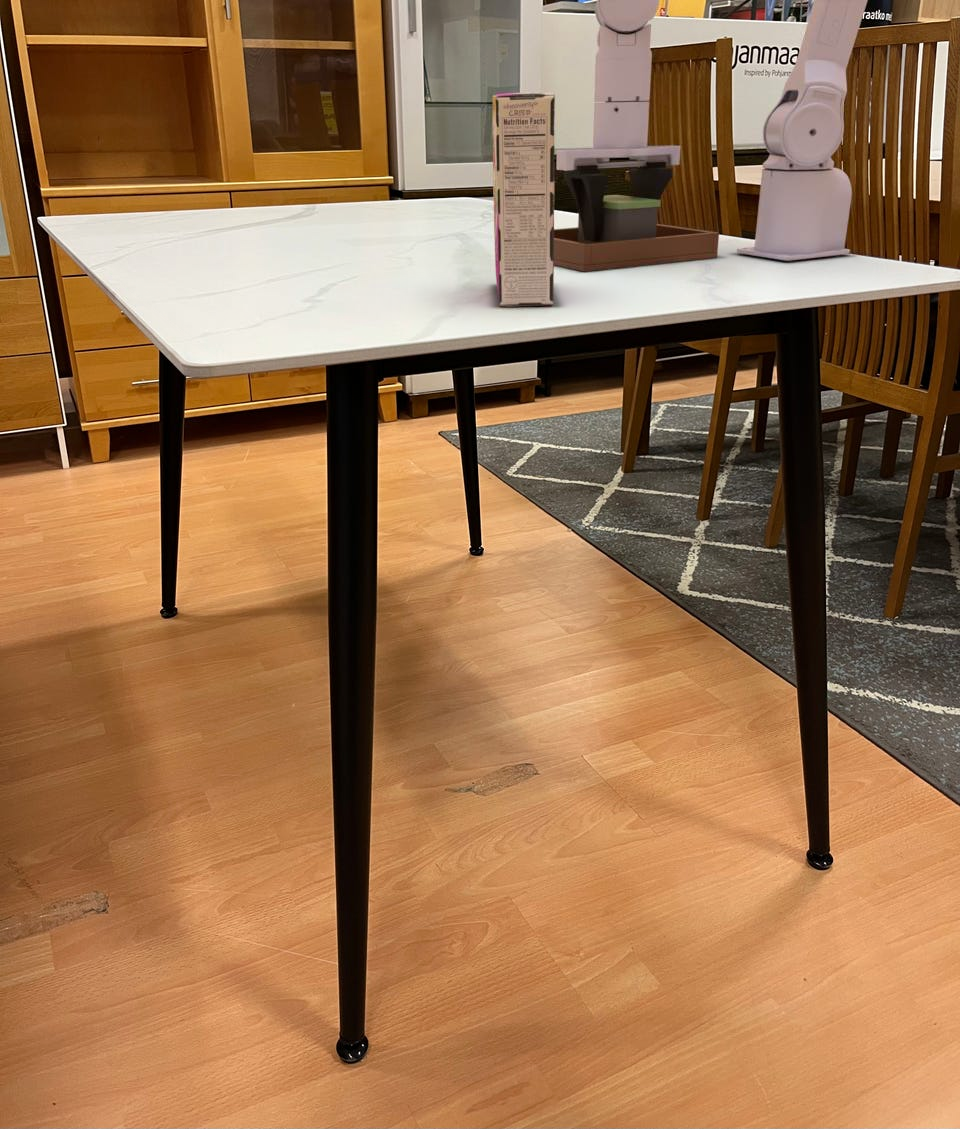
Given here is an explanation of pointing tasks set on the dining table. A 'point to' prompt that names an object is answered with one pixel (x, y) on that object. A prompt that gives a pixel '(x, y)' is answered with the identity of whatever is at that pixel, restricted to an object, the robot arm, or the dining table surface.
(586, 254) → the tray
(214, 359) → the dining table surface
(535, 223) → the candy bar box
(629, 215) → the container
